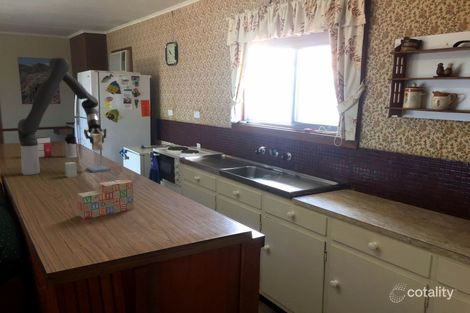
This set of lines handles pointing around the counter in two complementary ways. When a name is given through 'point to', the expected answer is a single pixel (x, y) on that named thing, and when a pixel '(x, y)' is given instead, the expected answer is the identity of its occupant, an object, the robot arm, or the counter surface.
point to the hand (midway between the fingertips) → (97, 142)
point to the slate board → (98, 169)
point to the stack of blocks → (106, 199)
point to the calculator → (44, 147)
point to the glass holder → (71, 147)
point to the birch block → (97, 142)
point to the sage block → (70, 169)
